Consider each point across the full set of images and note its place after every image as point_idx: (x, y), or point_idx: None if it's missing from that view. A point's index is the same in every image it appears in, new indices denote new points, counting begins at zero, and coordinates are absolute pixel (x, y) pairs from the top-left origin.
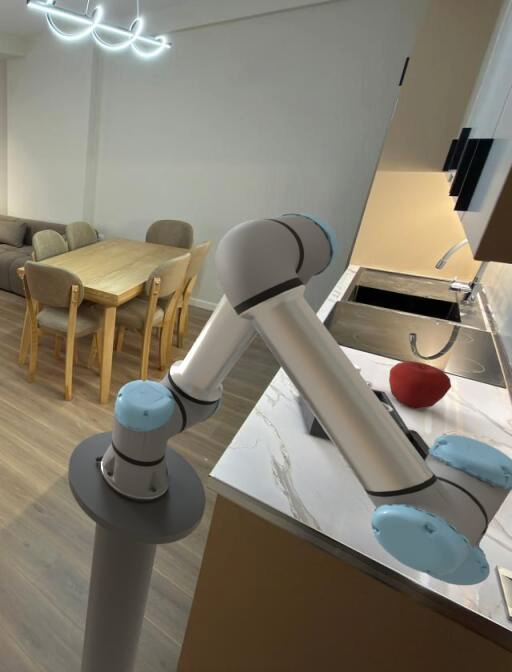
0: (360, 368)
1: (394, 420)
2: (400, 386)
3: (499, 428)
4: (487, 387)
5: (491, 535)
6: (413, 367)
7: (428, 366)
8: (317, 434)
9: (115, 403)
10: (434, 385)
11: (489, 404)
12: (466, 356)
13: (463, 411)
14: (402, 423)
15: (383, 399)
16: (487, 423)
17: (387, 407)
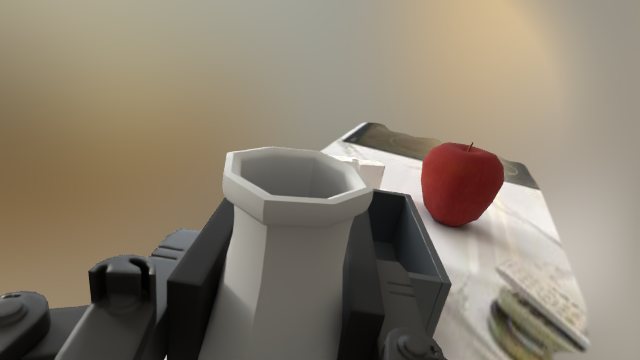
0: (383, 165)
1: (392, 279)
2: (436, 186)
3: (558, 246)
4: (526, 190)
5: None
6: (455, 149)
7: (474, 148)
8: None
9: None
10: (484, 177)
11: (535, 211)
12: (499, 159)
13: (512, 224)
14: (436, 262)
15: (406, 210)
16: (543, 239)
17: (342, 183)
